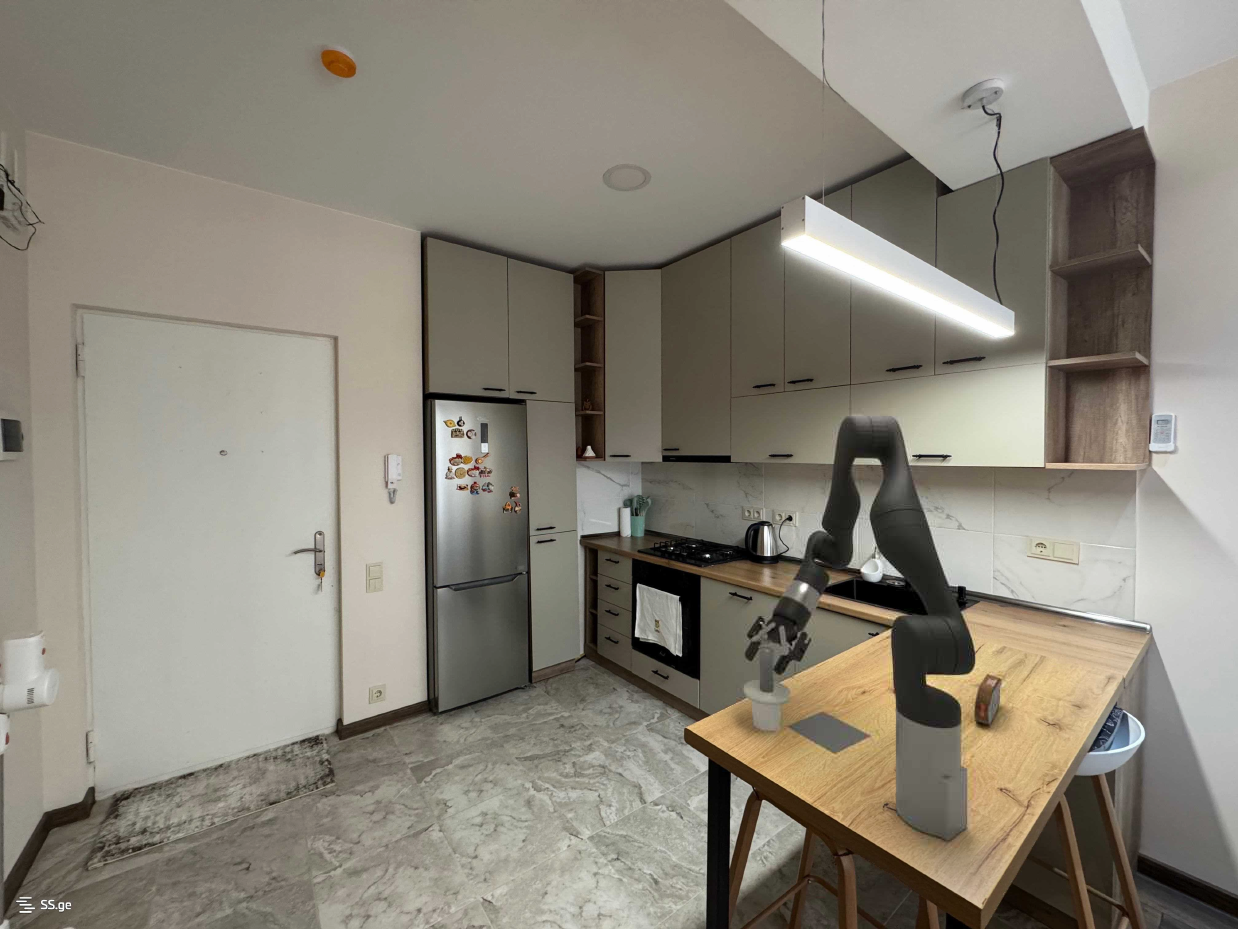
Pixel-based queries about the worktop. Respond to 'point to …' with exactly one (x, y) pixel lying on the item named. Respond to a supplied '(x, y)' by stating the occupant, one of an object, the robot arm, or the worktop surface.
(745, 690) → the peg on round base
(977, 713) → the tin
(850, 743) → the mat
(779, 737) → the worktop surface
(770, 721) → the light grey cylinder
